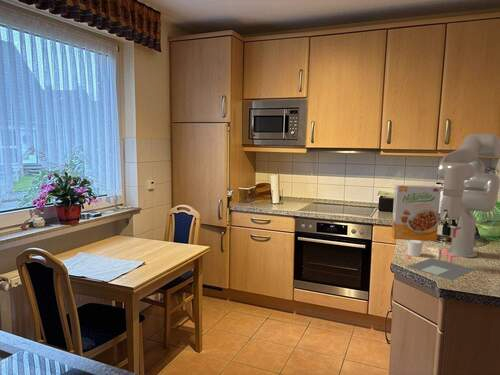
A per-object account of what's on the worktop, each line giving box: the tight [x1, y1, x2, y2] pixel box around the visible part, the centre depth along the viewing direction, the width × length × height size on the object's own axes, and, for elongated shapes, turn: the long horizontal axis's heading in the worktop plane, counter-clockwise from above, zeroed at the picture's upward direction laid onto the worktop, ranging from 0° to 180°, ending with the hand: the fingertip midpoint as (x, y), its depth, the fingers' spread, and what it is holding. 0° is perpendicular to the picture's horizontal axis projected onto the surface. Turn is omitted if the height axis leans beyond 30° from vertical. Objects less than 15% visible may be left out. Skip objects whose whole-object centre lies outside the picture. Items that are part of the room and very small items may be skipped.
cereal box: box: [391, 184, 442, 242], centre depth 209 cm, size 22×6×30 cm, turn 82°
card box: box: [437, 224, 463, 238], centre depth 162 cm, size 8×6×4 cm
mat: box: [406, 257, 476, 281], centre depth 160 cm, size 22×19×1 cm
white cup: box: [406, 240, 424, 257], centre depth 179 cm, size 7×7×7 cm
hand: (449, 233), depth 162 cm, fingers closed on card box, 5 cm apart
